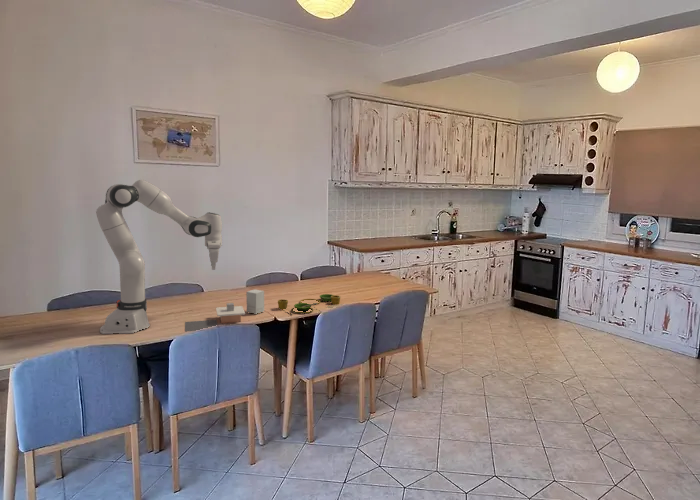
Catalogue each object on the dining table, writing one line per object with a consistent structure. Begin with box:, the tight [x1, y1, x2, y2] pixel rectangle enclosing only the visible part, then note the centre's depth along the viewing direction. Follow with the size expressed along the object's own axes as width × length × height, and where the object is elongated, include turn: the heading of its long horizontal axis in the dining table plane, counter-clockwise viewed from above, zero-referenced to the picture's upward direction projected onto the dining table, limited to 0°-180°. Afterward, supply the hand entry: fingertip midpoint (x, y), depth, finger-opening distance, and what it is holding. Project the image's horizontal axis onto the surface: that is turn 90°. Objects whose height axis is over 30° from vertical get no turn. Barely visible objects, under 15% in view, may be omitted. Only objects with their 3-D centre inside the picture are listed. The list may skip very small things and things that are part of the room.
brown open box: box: [219, 315, 242, 324], centre depth 248 cm, size 10×10×5 cm
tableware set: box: [277, 293, 343, 314], centre depth 281 cm, size 41×28×6 cm
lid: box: [215, 302, 246, 317], centre depth 248 cm, size 14×14×4 cm
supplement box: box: [245, 288, 265, 315], centre depth 264 cm, size 7×7×13 cm
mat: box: [184, 319, 219, 332], centre depth 238 cm, size 16×16×1 cm
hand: (213, 267), depth 251 cm, fingers open, 8 cm apart
